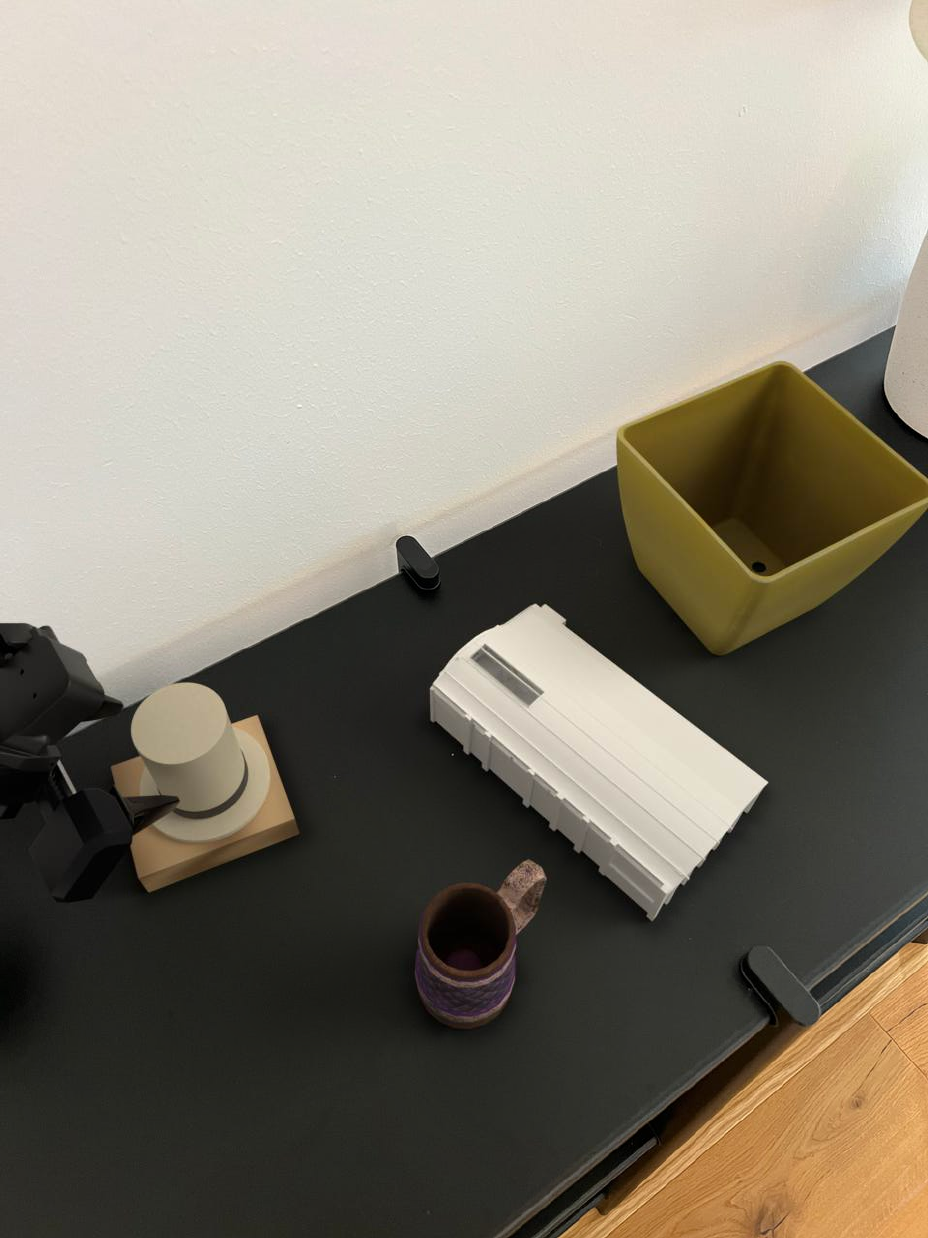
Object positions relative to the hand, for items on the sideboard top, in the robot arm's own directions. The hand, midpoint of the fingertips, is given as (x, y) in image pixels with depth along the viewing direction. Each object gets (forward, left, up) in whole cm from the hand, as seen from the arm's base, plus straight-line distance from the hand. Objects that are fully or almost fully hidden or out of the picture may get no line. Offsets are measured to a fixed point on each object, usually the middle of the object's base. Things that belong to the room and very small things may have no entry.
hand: (147, 754), depth 67 cm
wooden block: (+2, 0, -11) cm, 11 cm away
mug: (+17, -20, -11) cm, 29 cm away
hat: (+3, +1, -8) cm, 8 cm away
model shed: (+33, -8, -11) cm, 36 cm away
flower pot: (+53, +3, -11) cm, 54 cm away
